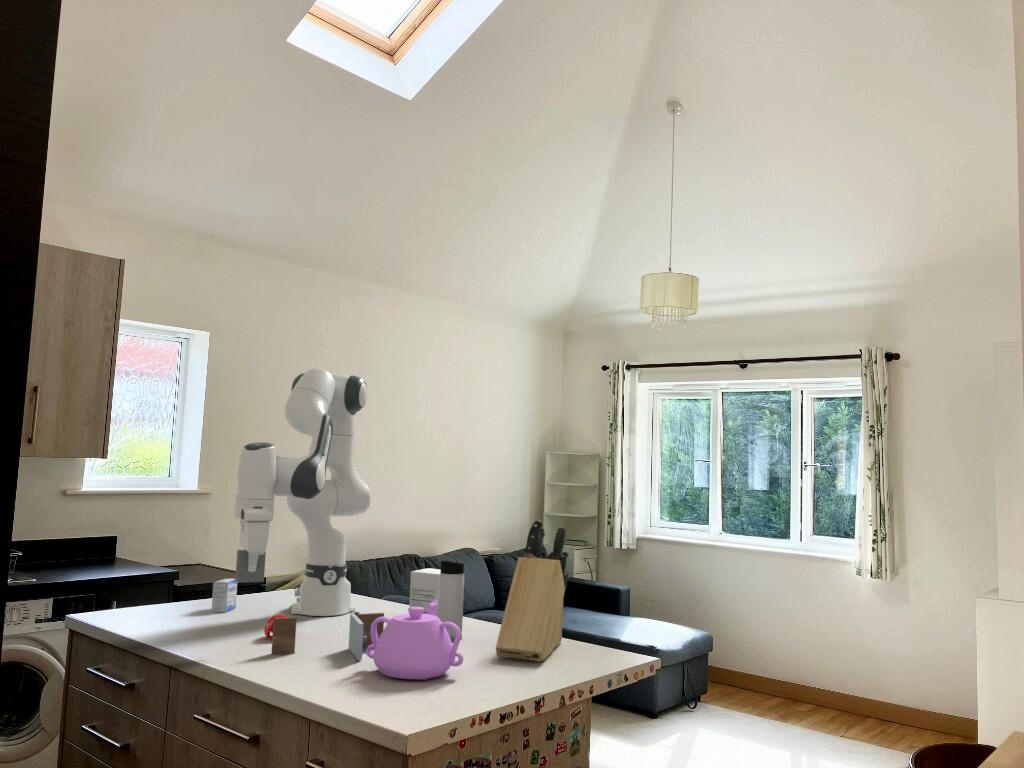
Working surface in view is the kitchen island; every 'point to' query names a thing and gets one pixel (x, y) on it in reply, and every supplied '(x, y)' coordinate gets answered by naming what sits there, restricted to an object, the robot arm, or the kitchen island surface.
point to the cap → (271, 625)
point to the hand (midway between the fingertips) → (250, 569)
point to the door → (356, 636)
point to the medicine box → (224, 595)
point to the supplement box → (425, 588)
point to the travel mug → (451, 595)
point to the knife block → (535, 600)
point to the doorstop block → (242, 568)
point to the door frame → (287, 632)
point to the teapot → (414, 645)
